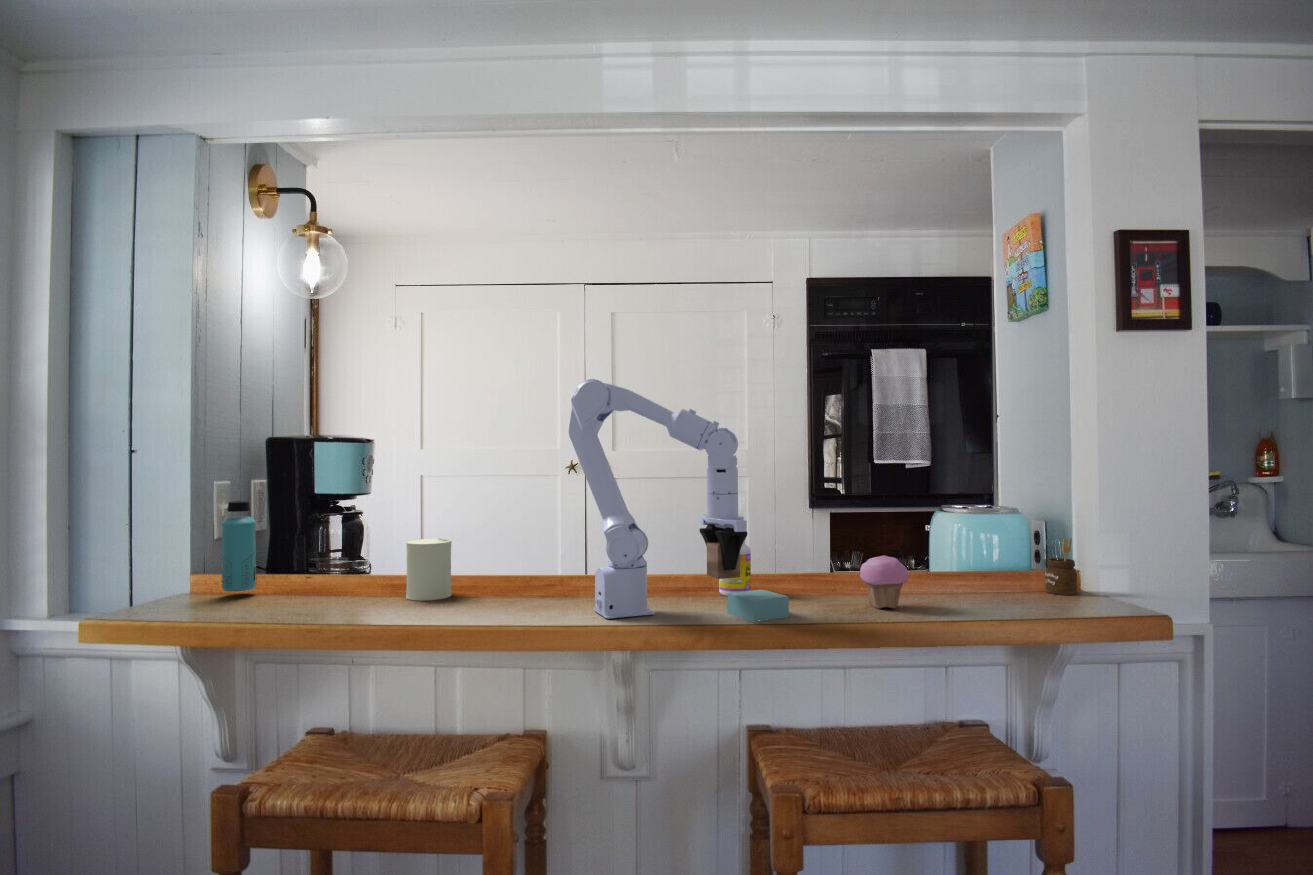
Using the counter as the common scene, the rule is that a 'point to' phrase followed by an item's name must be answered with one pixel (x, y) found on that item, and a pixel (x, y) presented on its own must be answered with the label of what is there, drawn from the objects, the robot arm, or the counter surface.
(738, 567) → the walnut block
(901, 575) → the cupcake
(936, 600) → the counter surface
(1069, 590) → the utensil holder
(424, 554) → the can
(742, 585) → the supplement bottle
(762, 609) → the teal base box
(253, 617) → the counter surface
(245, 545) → the beverage bottle
